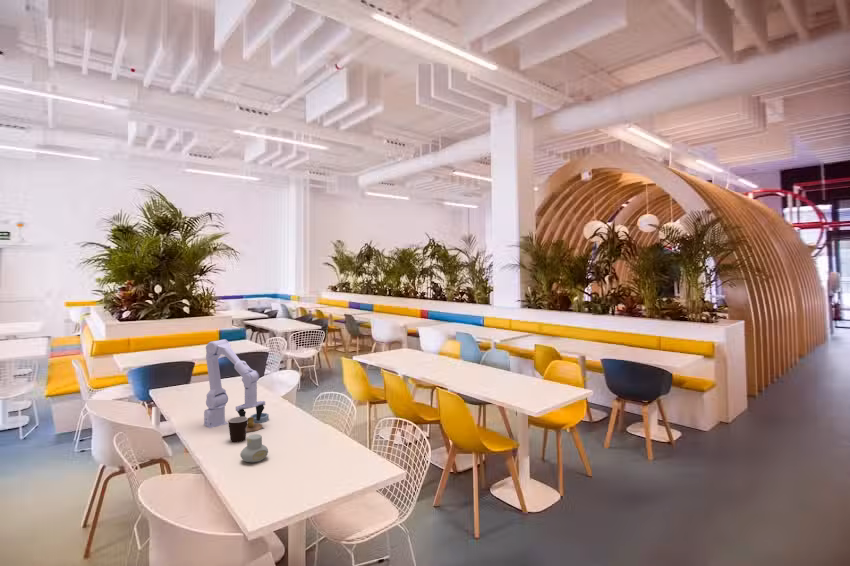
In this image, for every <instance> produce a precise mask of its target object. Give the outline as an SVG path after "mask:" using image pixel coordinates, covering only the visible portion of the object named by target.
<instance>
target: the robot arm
mask: <svg viewBox="0 0 850 566" xmlns="http://www.w3.org/2000/svg"><path fill="white" fill-rule="evenodd" d="M231 346H232V344H231V343H230V342H229V341H228V340H227V339H225V338H224V339H220V340H213V341H209V342H208V343H207V344H206V345H205V350H206V353H205V360H206V366H207V368H206V369H207V375H208V382H209V383H208V384H209V391H208V392H207V394H206V401H205V404H206V406H207V409H205V410H204V413H203V425H204V426H205V427H207V428H208V429H211V428H216V427H219V426H225V425H229V423H228V421H226V416H225V415H226V413H225V412H226V405H227V403H228V401H229V396H228V394H227V390H226V389H225V388H223V387H222V379H221V372H220V370H221V369H220V362H219V358H220V356H225V357H226V358H227V359H228V360H229V361H230V362H231V363H232V364H233V365H234V366H233V368H234V370H235V371H236V372H237V373H238V374H239V375H240V376H241V381H242V383H243V387H244V404H240V405H237V406H235V411H236V412H237V414H238V417H246V413H247V411H246V410H248V409H252V408H255V411H256V412H255V414H257V415H256V418H257V420H258V421H260V417H261V414H262V413H263V411H264V409H265V406H266V401H265V400H260V401H258V399H257V398H258V397H257V395H258V392H257V391H258V390H257V389H258V385H257V384H258V383H257V381H259V380H260V374H259V372H258V371H257V370H254V369H252V368H251V367H250V366H249V365H248V364H247V362H246V361H245V360H241V359H240V358H239V356H238V355H237V354H236V352H235V351H234V350H233V348H232V347H231Z"/></svg>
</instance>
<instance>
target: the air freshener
mask: <svg viewBox="0 0 850 566" xmlns="http://www.w3.org/2000/svg"><path fill="white" fill-rule="evenodd" d="M246 437H247V438H246V446H245V447H244V448H243V449H242V450H241V451H240V458H241V460H243V461H244V462H246V463H259V462H261V461H262V460H264V459H265V458H266V457H267V456H268V453H269V449H268V447H267V446H266V445H265V444H263V436H262V435H261V434H257V433H256V434H255V433H254V434H251V435H249V436H246Z"/></svg>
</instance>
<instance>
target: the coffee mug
mask: <svg viewBox="0 0 850 566" xmlns="http://www.w3.org/2000/svg"><path fill="white" fill-rule="evenodd" d="M248 418H249V417H247V416H245V417H240V416H236V417H235V416H234V417H231V418H230V419H228V421H227V423H228V429H229V430H228V431H229V436H230V442H231V443H242V442H244V441H245V440H247V438H246V437H247V433H246V431H247V424H248Z"/></svg>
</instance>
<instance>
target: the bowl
mask: <svg viewBox="0 0 850 566" xmlns="http://www.w3.org/2000/svg"><path fill="white" fill-rule="evenodd" d="M256 415H257V413H252V414H250V417H254V423H259V424H263V423H267V422H268V421H269V419H270V418H269V416H270V415H269V413H266V412H262V414H261V417H260V421H258V420H257V418H256Z"/></svg>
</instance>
